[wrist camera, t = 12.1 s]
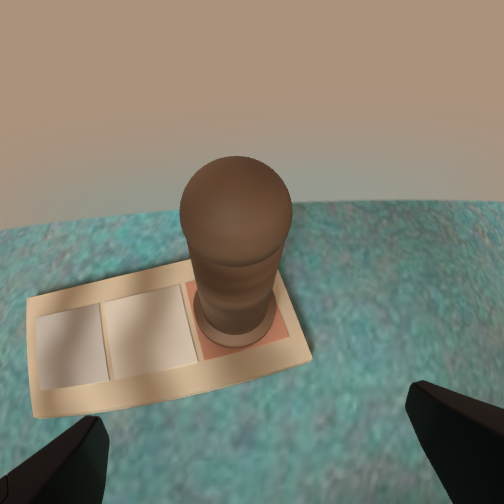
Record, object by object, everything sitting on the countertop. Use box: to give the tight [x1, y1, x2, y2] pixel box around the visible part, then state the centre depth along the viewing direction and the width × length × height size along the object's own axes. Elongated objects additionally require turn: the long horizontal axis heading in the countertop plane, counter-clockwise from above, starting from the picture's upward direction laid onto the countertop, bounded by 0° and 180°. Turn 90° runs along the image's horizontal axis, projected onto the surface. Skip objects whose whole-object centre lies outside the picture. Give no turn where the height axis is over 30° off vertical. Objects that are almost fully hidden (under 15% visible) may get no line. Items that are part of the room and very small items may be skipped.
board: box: [27, 259, 313, 419], centre depth 22 cm, size 21×10×1 cm, turn 107°
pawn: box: [180, 156, 292, 348], centre depth 17 cm, size 6×6×13 cm
